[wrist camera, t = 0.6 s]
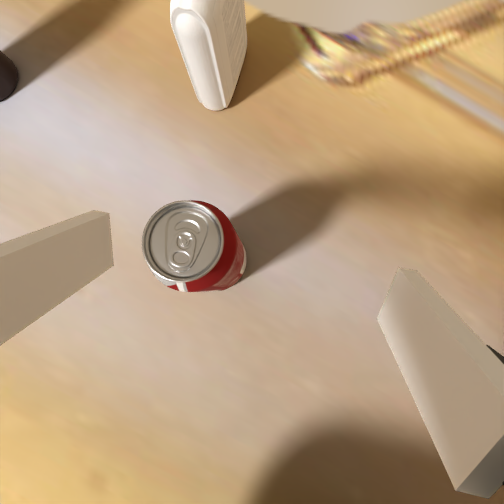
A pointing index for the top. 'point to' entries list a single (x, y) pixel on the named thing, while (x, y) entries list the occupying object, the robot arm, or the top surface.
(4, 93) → the bottle
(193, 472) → the top surface
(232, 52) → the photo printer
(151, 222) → the soda can
